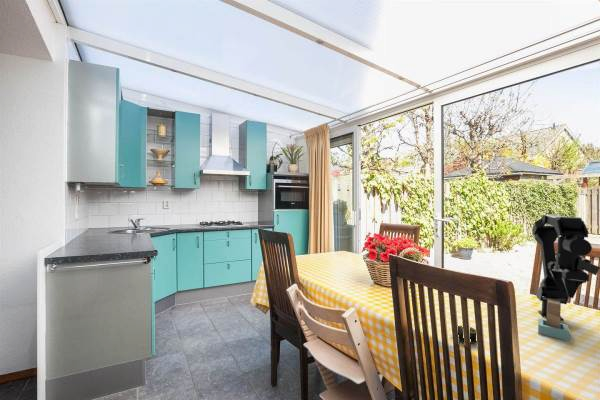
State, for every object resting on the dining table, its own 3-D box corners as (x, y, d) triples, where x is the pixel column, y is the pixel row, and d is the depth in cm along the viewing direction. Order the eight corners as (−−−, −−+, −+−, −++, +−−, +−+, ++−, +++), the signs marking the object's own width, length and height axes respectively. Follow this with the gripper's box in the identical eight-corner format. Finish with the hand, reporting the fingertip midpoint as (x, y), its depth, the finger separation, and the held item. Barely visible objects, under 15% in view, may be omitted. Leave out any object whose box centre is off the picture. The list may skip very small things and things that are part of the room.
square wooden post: (545, 330, 107) (547, 299, 107) (558, 333, 105) (560, 302, 105) (546, 333, 105) (547, 302, 105) (559, 336, 102) (560, 304, 102)
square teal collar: (538, 326, 110) (538, 318, 110) (566, 332, 106) (567, 324, 105) (538, 333, 104) (538, 324, 104) (568, 340, 99) (569, 332, 99)
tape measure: (451, 334, 101) (451, 323, 101) (473, 336, 100) (473, 325, 100) (458, 344, 95) (458, 332, 94) (481, 346, 93) (482, 335, 93)
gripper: (611, 258, 96) (609, 306, 96) (584, 249, 113) (583, 290, 113) (567, 254, 101) (565, 300, 101) (548, 246, 118) (546, 286, 118)
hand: (565, 294), depth 108 cm, fingers open, 9 cm apart
